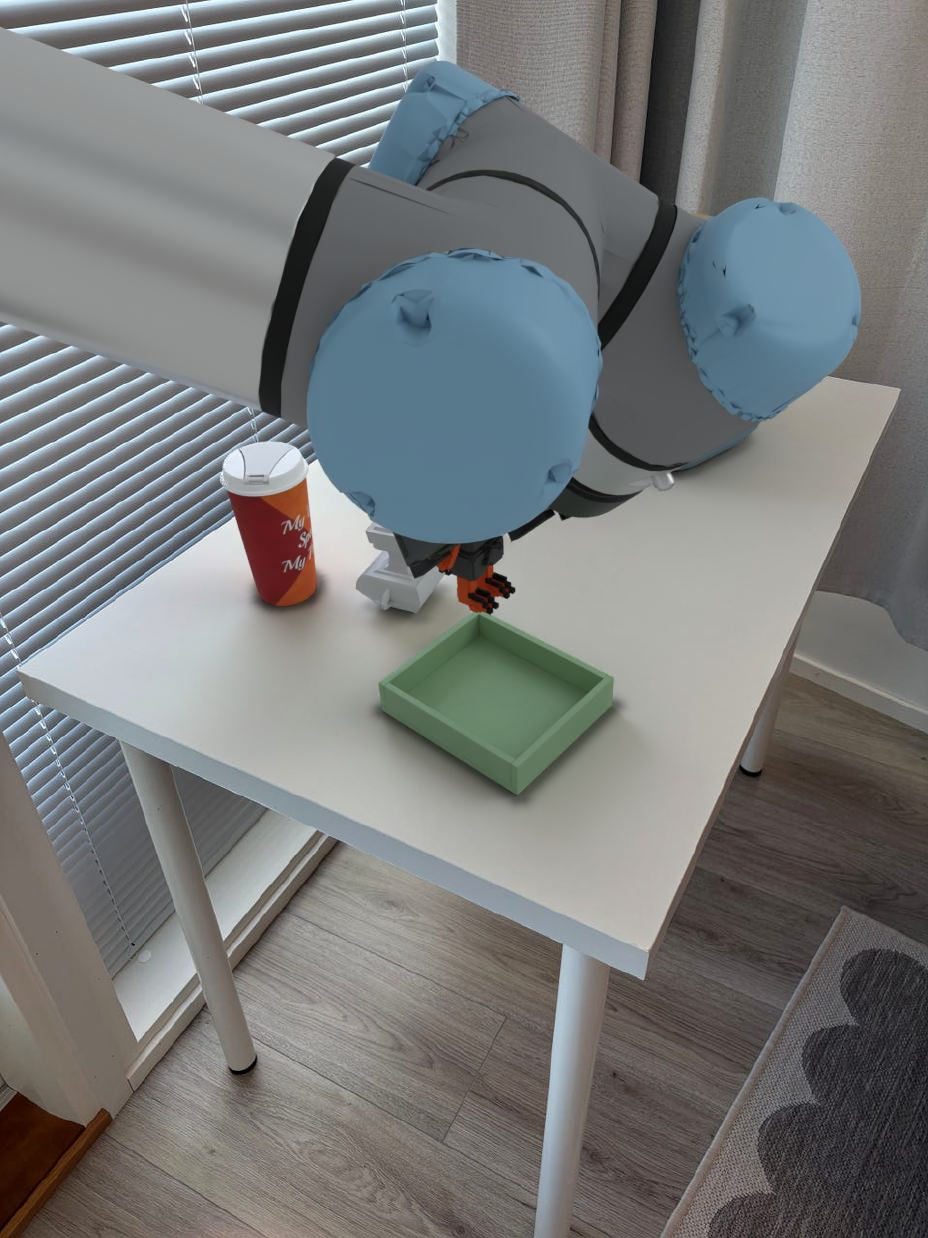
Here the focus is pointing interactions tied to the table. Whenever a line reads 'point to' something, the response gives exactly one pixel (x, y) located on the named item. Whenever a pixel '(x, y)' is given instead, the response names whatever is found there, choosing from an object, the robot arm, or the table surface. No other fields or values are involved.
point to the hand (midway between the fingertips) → (461, 541)
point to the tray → (497, 698)
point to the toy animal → (478, 574)
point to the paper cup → (273, 518)
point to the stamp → (394, 575)
